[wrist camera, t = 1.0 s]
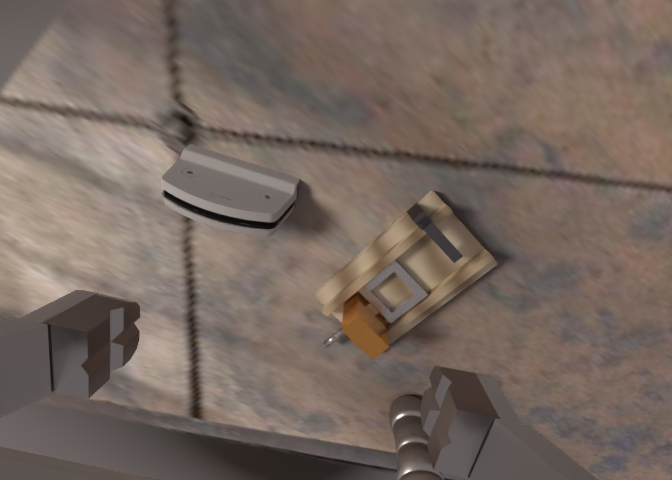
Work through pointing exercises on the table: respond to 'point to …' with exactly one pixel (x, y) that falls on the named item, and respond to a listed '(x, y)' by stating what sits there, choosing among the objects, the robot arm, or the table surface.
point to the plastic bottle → (411, 441)
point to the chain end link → (375, 312)
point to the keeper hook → (433, 232)
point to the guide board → (411, 267)
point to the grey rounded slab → (228, 192)
